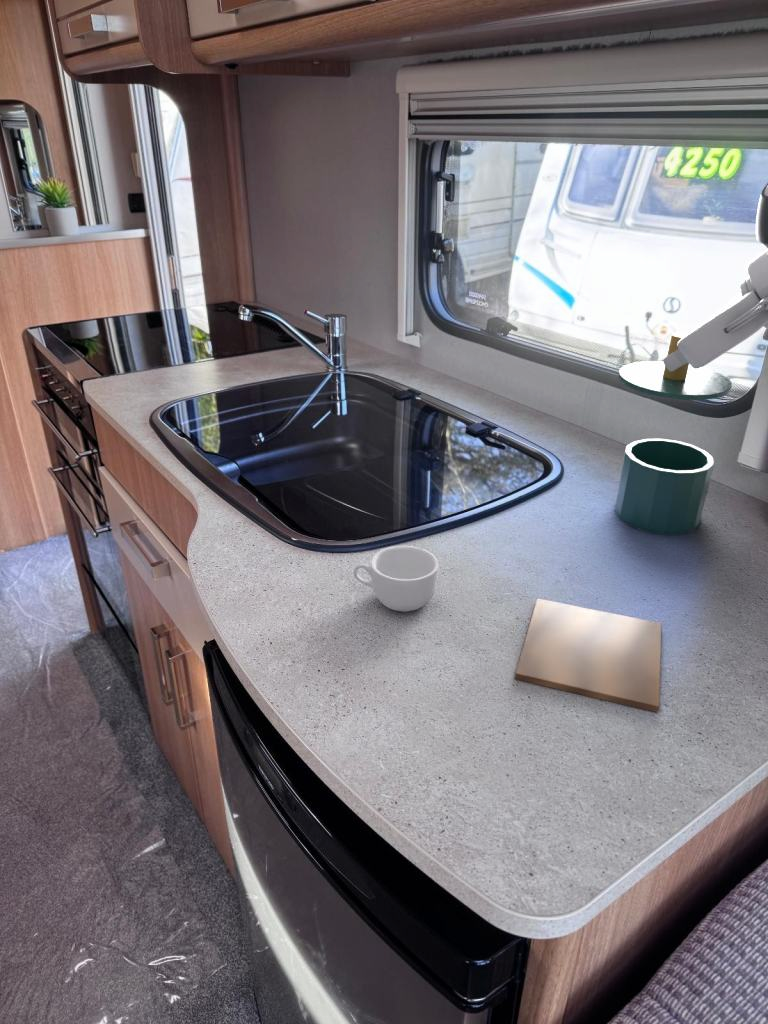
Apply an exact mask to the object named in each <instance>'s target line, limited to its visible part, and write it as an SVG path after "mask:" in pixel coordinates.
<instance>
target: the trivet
mask: <svg viewBox="0 0 768 1024" xmlns="http://www.w3.org/2000/svg"><path fill="white" fill-rule="evenodd" d="M534 603H535V604H534V607H533V610H532V614H531V617H530V621H529V624H528V628H527V630H526V634H525V637H524V641H523V644H522V648H521V652H520V656H519V659H518V663H517V666H516V669H515V673H514V680H517V681H521V682H526V683H530V684H534V685H539V686H543V687H547V688H551V689H556V690H560V691H565V692H569V693H573V694H576V695H581V696H585V697H589V698H590V697H591V698H594V699H598V700H603V701H608V702H611V703H616V704H619V705H624V706H629V707H633V708H637V709H641V710H647V711H650V712H654V713H659V710H660V706H661V704H660V702H661V669H662V668H661V667H662V665H661V662H662V624H663V623H662V622H658V621H652V620H648V619H644V618H638V617H633V616H628V615H624V614H618V613H613V612H608V611H603V610H599V609H593V608H587V607H582V606H577V605H573V604H567V603H563V602H558V601H553V600H547V599H542V598H538V597H537V598H536V600H535V602H534Z"/></svg>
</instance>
